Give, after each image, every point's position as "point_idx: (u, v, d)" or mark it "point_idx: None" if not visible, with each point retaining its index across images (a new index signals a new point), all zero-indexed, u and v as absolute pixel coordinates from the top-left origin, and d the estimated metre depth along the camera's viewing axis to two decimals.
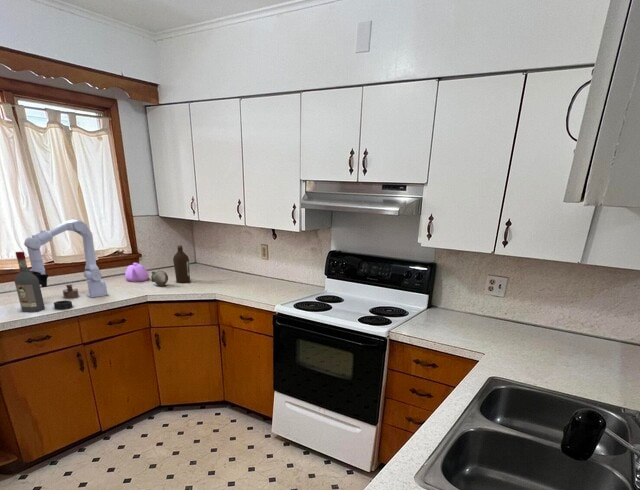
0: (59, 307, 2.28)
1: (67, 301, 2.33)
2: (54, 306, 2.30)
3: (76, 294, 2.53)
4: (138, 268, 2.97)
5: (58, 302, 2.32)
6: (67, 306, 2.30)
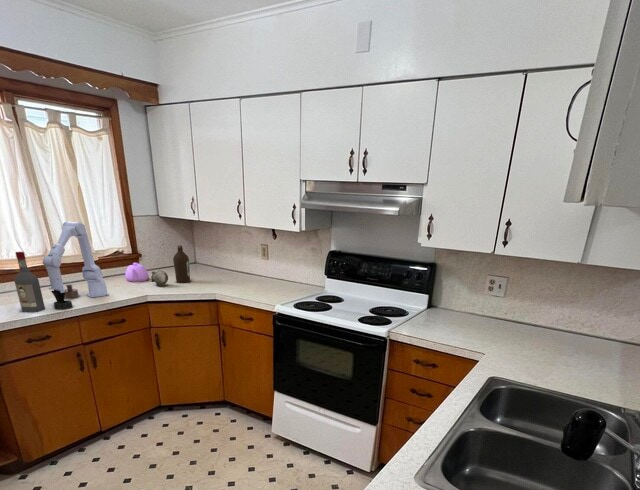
0: (59, 307, 2.28)
1: (67, 301, 2.33)
2: (54, 306, 2.30)
3: (76, 294, 2.53)
4: (138, 268, 2.97)
5: (58, 302, 2.32)
6: (67, 306, 2.30)
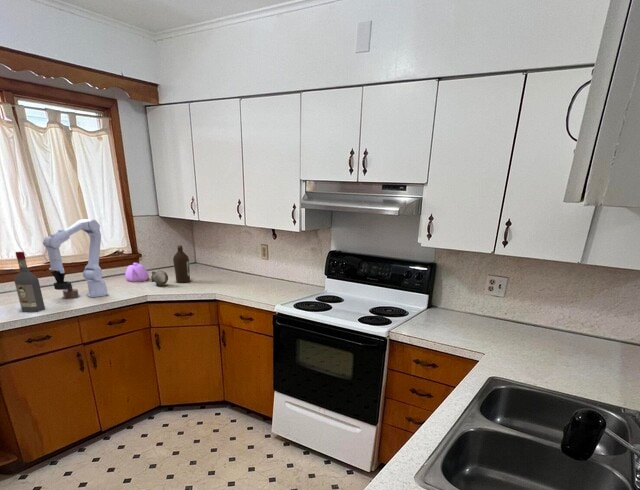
0: (59, 287, 2.33)
1: (67, 282, 2.38)
2: (54, 286, 2.34)
3: (76, 294, 2.53)
4: (138, 268, 2.97)
5: (58, 283, 2.36)
6: (67, 287, 2.34)
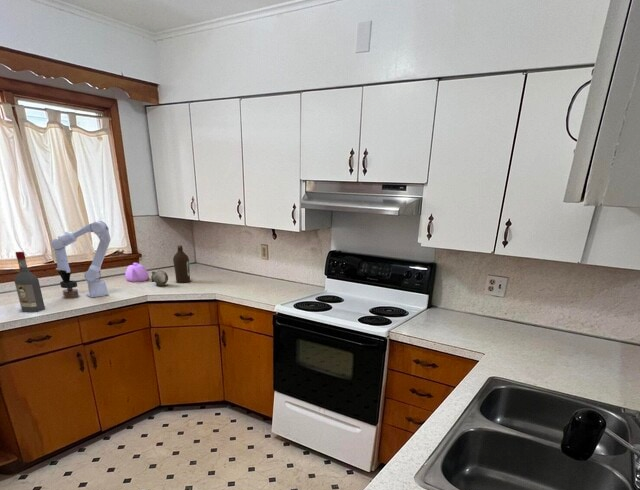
0: (65, 286, 2.48)
1: (72, 281, 2.53)
2: None
3: (76, 294, 2.53)
4: (138, 268, 2.97)
5: (64, 282, 2.51)
6: (72, 285, 2.50)
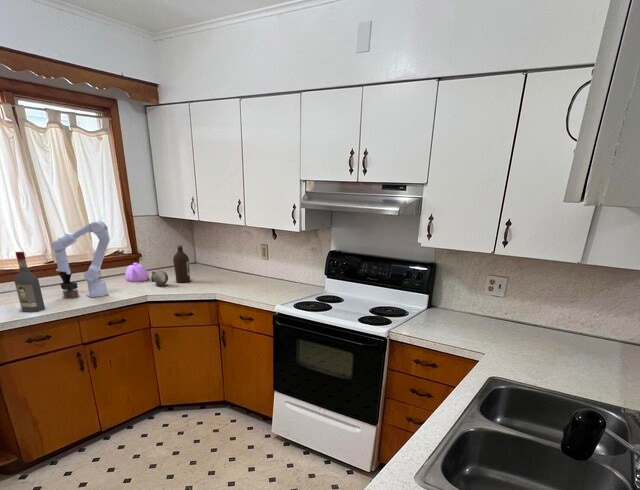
0: (65, 287, 2.48)
1: (72, 282, 2.54)
2: (61, 287, 2.50)
3: (76, 294, 2.53)
4: (138, 268, 2.97)
5: (64, 283, 2.52)
6: (73, 287, 2.50)
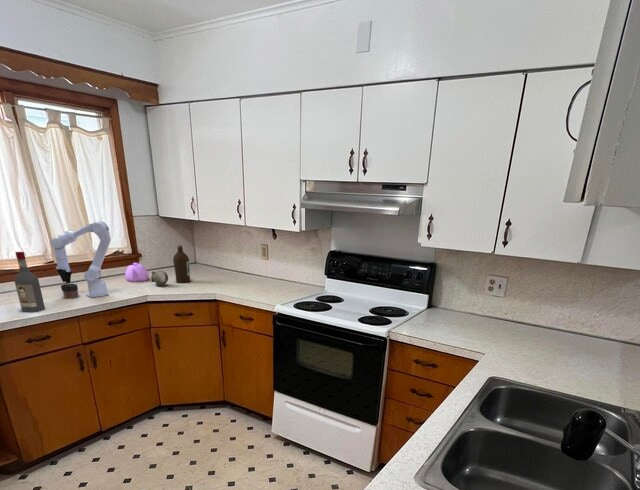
0: (66, 289, 2.49)
1: (73, 284, 2.54)
2: (61, 288, 2.51)
3: (76, 294, 2.53)
4: (138, 268, 2.97)
5: (64, 285, 2.52)
6: (73, 289, 2.51)
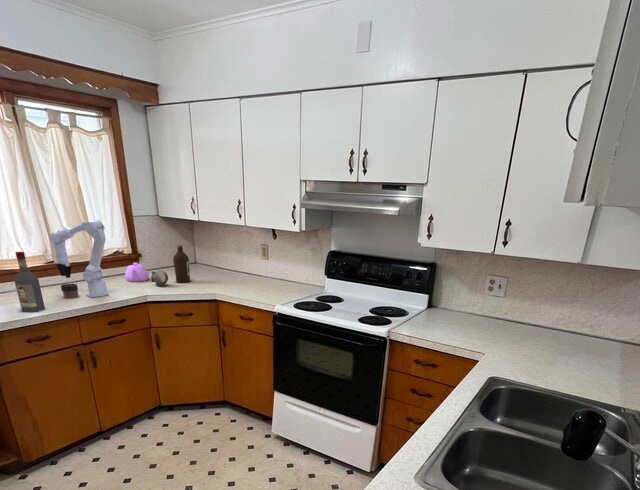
0: (66, 289, 2.49)
1: (73, 284, 2.54)
2: (61, 288, 2.51)
3: (76, 294, 2.53)
4: (138, 268, 2.97)
5: (64, 285, 2.52)
6: (73, 289, 2.51)
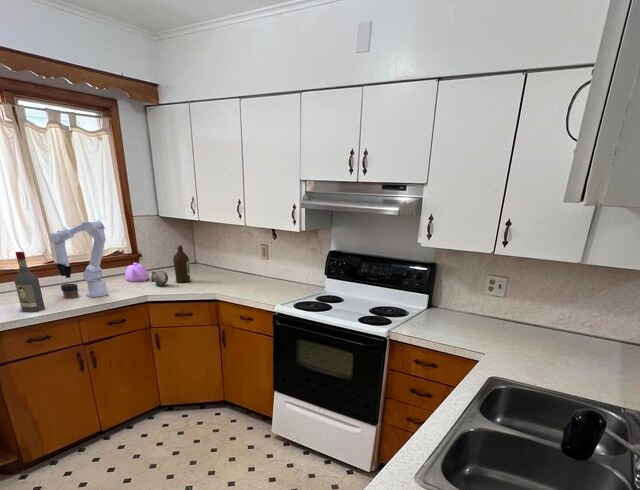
0: (66, 289, 2.49)
1: (73, 284, 2.54)
2: (61, 288, 2.51)
3: (76, 294, 2.53)
4: (138, 268, 2.97)
5: (64, 285, 2.52)
6: (73, 289, 2.51)
